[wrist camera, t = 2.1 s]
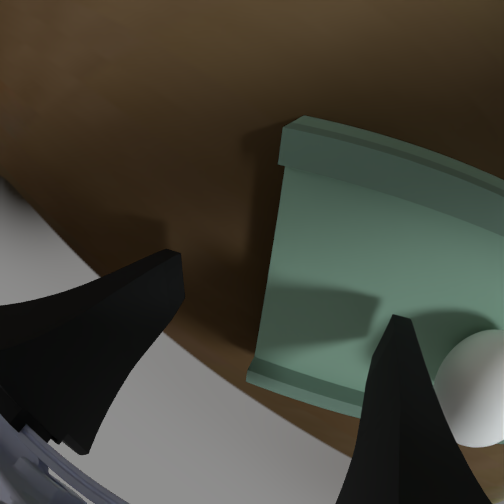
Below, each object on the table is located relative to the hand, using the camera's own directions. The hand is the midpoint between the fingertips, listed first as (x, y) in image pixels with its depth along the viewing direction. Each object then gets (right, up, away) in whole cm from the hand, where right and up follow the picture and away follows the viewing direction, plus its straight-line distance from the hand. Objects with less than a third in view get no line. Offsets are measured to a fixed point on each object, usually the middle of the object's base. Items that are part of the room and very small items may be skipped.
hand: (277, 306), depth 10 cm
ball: (+7, -3, -3) cm, 8 cm away
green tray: (+10, -1, 0) cm, 10 cm away
